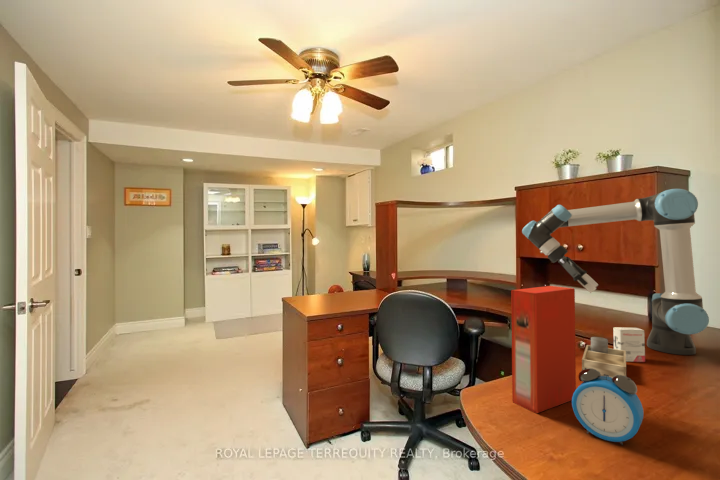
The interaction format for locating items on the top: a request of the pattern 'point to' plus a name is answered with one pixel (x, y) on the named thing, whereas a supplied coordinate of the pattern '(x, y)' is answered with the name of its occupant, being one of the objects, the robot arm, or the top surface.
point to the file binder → (543, 347)
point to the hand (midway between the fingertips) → (594, 288)
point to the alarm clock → (607, 405)
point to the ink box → (630, 343)
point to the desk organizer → (604, 358)
